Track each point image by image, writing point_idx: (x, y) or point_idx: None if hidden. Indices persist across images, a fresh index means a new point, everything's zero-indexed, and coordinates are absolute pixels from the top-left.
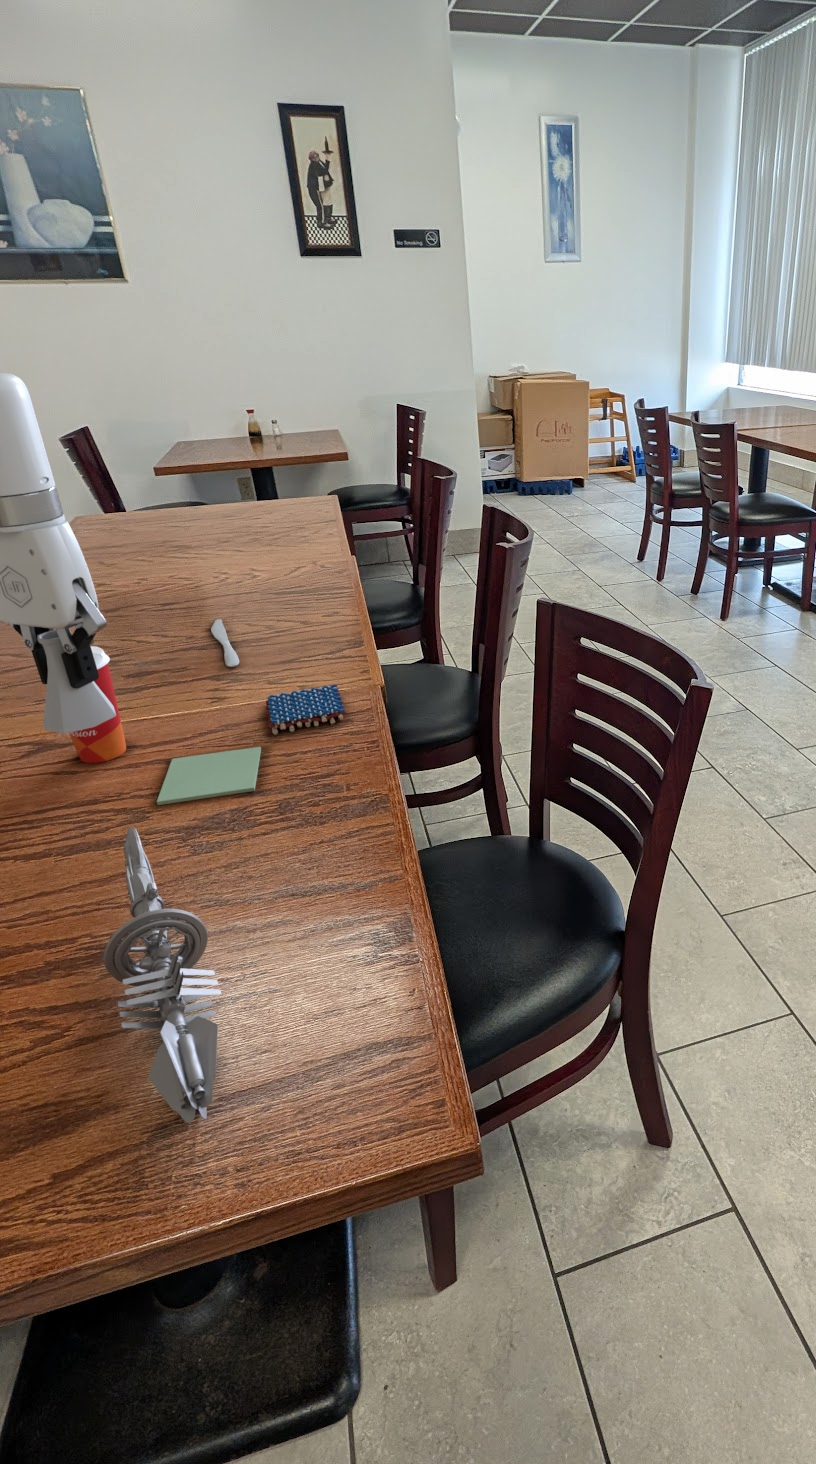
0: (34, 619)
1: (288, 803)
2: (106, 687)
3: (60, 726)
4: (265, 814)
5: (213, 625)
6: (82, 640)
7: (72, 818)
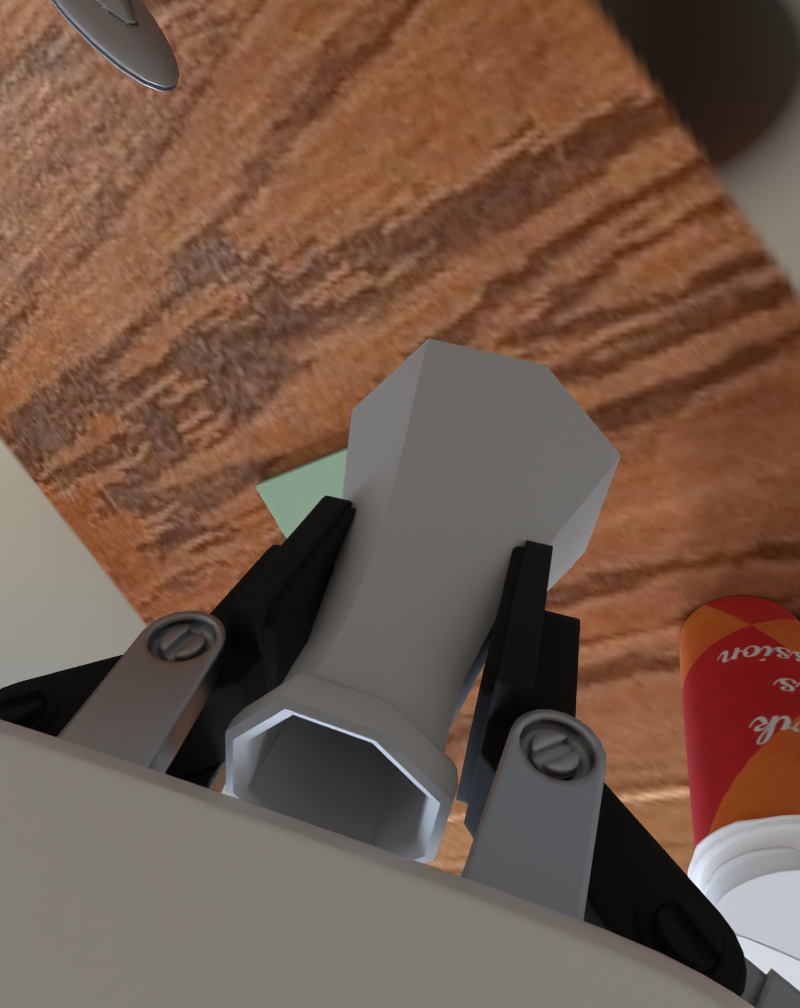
0: (70, 839)
1: (168, 442)
2: (692, 796)
3: (440, 358)
4: (181, 399)
5: None
6: (54, 676)
7: (624, 334)
